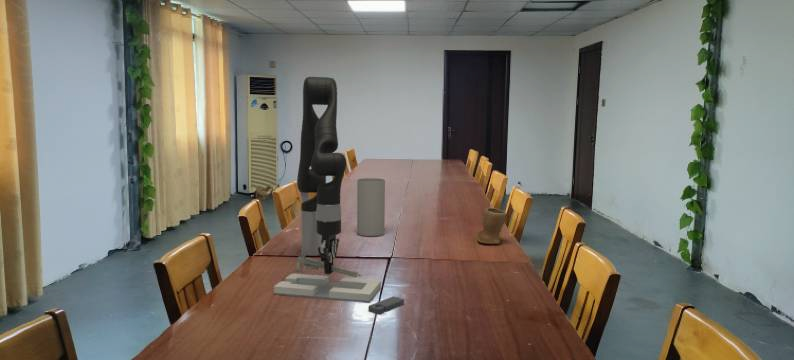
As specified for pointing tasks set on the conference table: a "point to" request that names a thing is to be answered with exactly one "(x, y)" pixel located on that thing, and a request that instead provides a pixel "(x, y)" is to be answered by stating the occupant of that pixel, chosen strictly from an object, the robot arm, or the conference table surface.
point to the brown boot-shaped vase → (491, 226)
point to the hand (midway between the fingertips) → (328, 273)
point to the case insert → (328, 288)
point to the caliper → (321, 266)
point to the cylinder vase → (370, 207)
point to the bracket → (386, 305)
